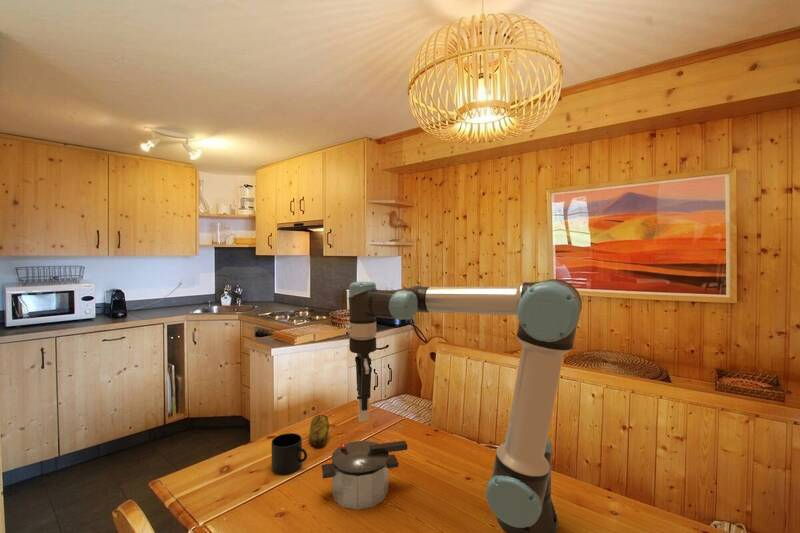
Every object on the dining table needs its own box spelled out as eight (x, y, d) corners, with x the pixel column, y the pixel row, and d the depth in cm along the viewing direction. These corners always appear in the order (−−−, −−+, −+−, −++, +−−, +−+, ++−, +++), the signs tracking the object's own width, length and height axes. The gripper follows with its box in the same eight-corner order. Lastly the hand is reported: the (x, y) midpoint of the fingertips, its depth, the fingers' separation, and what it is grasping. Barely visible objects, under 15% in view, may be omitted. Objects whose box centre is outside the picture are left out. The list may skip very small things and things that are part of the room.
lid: (414, 464, 106) (414, 455, 106) (334, 477, 100) (334, 467, 100) (398, 438, 123) (398, 430, 123) (329, 447, 117) (329, 439, 117)
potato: (301, 448, 135) (301, 426, 135) (314, 431, 148) (314, 411, 148) (323, 450, 134) (323, 427, 134) (335, 432, 147) (335, 412, 147)
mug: (299, 478, 117) (299, 450, 117) (265, 472, 120) (265, 444, 120) (313, 462, 126) (313, 435, 126) (282, 457, 129) (282, 431, 129)
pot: (403, 501, 106) (403, 469, 106) (324, 515, 101) (324, 481, 100) (388, 467, 123) (388, 439, 123) (320, 478, 117) (320, 448, 117)
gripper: (346, 333, 111) (347, 412, 112) (352, 342, 98) (353, 432, 99) (371, 331, 113) (372, 409, 114) (381, 341, 100) (381, 428, 101)
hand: (363, 419), depth 106 cm, fingers closed
